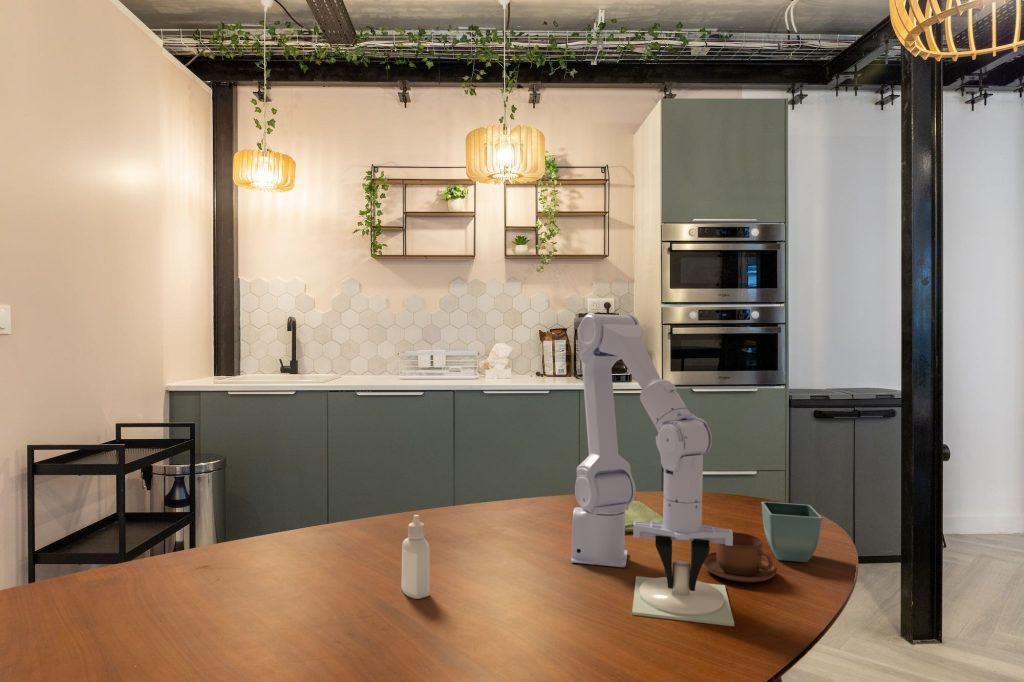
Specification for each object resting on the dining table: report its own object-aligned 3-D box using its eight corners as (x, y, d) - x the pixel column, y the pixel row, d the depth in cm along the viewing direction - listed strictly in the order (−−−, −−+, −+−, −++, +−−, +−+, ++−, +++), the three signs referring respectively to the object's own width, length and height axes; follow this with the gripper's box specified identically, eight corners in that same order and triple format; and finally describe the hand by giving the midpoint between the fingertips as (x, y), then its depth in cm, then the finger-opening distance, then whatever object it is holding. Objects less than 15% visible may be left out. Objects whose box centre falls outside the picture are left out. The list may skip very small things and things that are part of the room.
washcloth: (613, 537, 128) (613, 521, 128) (586, 512, 145) (586, 498, 145) (673, 534, 130) (673, 518, 130) (640, 510, 148) (640, 496, 148)
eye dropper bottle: (400, 600, 95) (401, 521, 95) (401, 586, 101) (402, 510, 100) (429, 599, 96) (430, 520, 95) (429, 585, 101) (430, 510, 101)
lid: (638, 610, 92) (638, 574, 92) (640, 578, 104) (641, 546, 104) (727, 620, 89) (728, 583, 89) (719, 586, 101) (720, 553, 101)
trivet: (632, 614, 91) (632, 611, 91) (636, 578, 105) (636, 576, 105) (734, 626, 88) (734, 623, 88) (724, 587, 102) (724, 585, 102)
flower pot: (822, 568, 111) (823, 517, 111) (768, 564, 113) (769, 513, 113) (809, 551, 120) (810, 504, 120) (759, 547, 122) (760, 501, 121)
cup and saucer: (783, 572, 110) (784, 536, 109) (767, 595, 100) (768, 556, 100) (713, 557, 116) (714, 524, 116) (692, 577, 106) (692, 541, 106)
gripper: (633, 501, 94) (631, 592, 94) (735, 509, 91) (734, 603, 91) (635, 490, 101) (633, 574, 101) (730, 496, 98) (729, 584, 98)
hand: (681, 587), depth 97 cm, fingers closed on lid, 3 cm apart
